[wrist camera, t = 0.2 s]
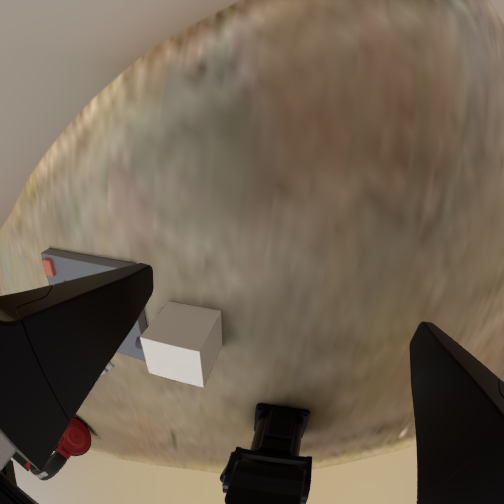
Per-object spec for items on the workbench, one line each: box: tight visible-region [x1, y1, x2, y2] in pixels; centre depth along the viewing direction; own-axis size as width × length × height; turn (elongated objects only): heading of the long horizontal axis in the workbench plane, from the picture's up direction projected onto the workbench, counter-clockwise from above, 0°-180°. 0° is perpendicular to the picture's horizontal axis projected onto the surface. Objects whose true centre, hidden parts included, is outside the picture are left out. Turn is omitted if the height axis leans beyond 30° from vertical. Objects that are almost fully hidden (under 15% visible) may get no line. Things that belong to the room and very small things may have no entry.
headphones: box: [30, 417, 91, 480], centre depth 44 cm, size 18×10×20 cm, turn 126°
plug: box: [135, 301, 222, 387], centre depth 26 cm, size 4×7×6 cm, turn 88°
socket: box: [41, 248, 147, 361], centre depth 30 cm, size 12×14×2 cm
